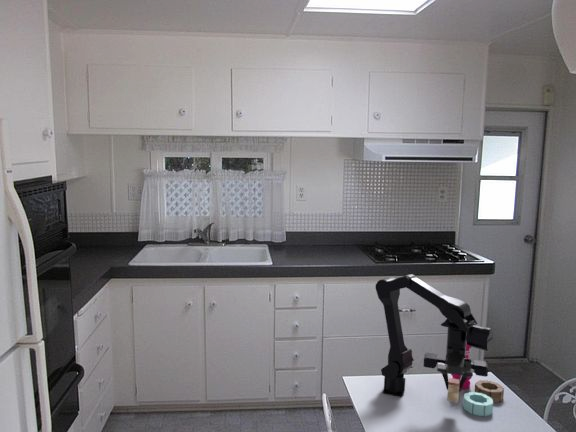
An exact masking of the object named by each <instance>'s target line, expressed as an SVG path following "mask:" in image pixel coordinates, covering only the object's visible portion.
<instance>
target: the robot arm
mask: <svg viewBox="0 0 576 432" xmlns="http://www.w3.org/2000/svg"><path fill="white" fill-rule="evenodd" d="M402 289H408V290H410V291H411V292H413V293H414V294H415V295H418V296H419V297H421V298H422V299H424V300H425V301H427V302H428V303H430V304H431V305H433V306H434V307H436V308H437V309H438V310H439V312H440V313H441V314H442V316H443V317H445V318H446V319H445V321H443V322H442V323H441V324H440V326H441V327H444V328H445V327H446V328H447V331H446V332H447V334H446V335H447V336H446V349H445V358H439V357H438V354H437V353H433V352H432V353H431V352H426V353H424V356H423V367H424V368H429V369H435V368H436V371H437V372H439V373H441V375H442V378H443V381H444V384H445V387H446V390H447V391H448V381H449V374H450V375H451V374H457V375H461V377H460V382H459V393H461V391H462V390H463V389H462V387H463V384H464V382H465V381H466V379H467V378H468V377H469V376H470V377H472V378H473V376H474V374H475V375H476V376H480V377H488V375H489V367H488V363H487V361H486V360H480V359H473V362H472V359H470V358H468V359H467V358H466V357H465V355H466V342H467V345H469V346H470V347H471V348H474V349H478V350H481V351H485V352H489V353H490V352H491V351H492V349H493V346H494V342H495V337H494V333H493V332H492V330H493V328H491V327H484V326H481V325H478V321H477V320H476V318H475V317H474V315H473V313H472V312H471V311H472V309H471V306H470V305H469V304H468V303H467V302H466V301H463V300H461V299H459V298H456V297H453V296H452V297H451V296H449V295H445V294H444V293H442V292H441V291H439V290H437V289H436V288H434V287H432V286H431V285H429V284H427V283H426V282H424V281H423V280H421V279H420V278H418V277H417V276H416V275H415V274H412V273H410V274H406V275H403V276H401V277H397V278H396V277H394V276H389V277H385V278H382V279H379V280H378V281H377V282H376V283H375V290H376V295H377V297H378V299H379V301H380V302H381V303H382V305H383V311H384V317H385V322H386V329H387V334H388V335H387V336H388V341H389V350H388V354H387V364H386V365H385V366H384V367H382V368H381V370H380V371H381V375H382V377H384V379H383V390H382V393H383V394H385V395H386V394H387V395H392V396H397V397H403V394H404V393H405V392H406V378H405V374H406V373H407V371H408V370H409V369H410V368H411V367H412V366H413V362H414V361H415V360H414V357H413V351H412V350H413V349H412V348H408V347H407V346H406V345H405V340H404V334H403V328H402V323H401V322H402V321H401V315H400V310H399V309H400V308H399V299H400V294H401V290H402ZM465 321H466V322H465ZM473 372H474V374H473Z"/></svg>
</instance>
